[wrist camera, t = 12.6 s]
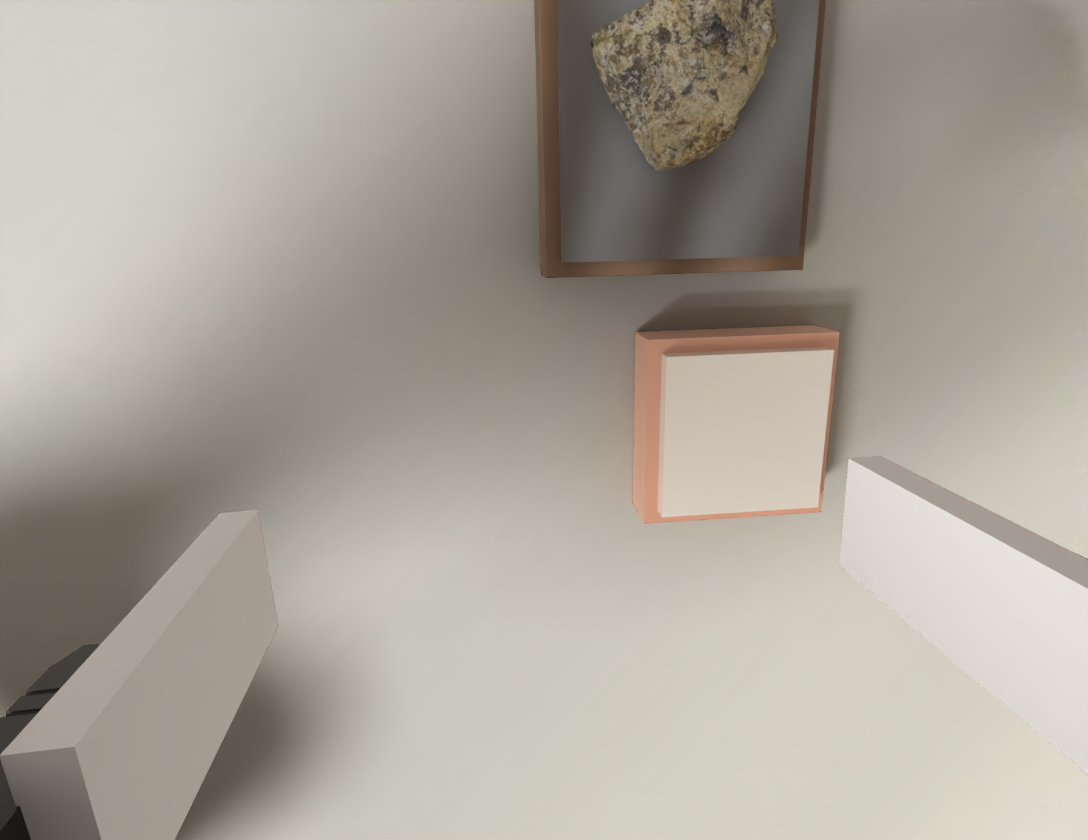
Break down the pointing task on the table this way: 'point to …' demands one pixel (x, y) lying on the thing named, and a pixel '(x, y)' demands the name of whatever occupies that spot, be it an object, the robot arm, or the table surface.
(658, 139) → the rock
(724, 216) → the walnut plinth
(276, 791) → the table surface
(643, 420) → the terracotta plinth
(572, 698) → the table surface
